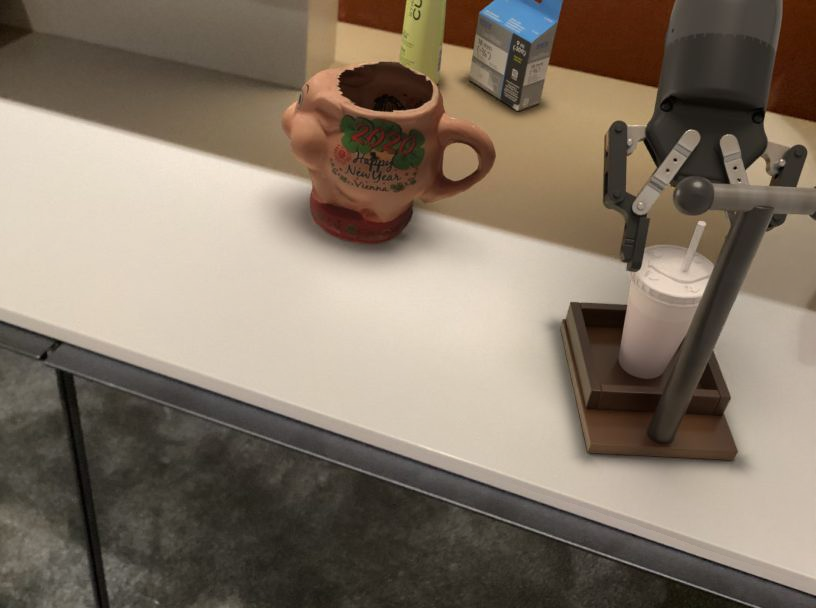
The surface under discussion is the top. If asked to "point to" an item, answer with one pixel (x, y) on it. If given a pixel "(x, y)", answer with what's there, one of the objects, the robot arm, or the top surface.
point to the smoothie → (662, 305)
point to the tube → (423, 36)
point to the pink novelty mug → (377, 147)
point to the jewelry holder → (694, 359)
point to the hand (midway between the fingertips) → (679, 276)
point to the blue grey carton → (514, 49)
